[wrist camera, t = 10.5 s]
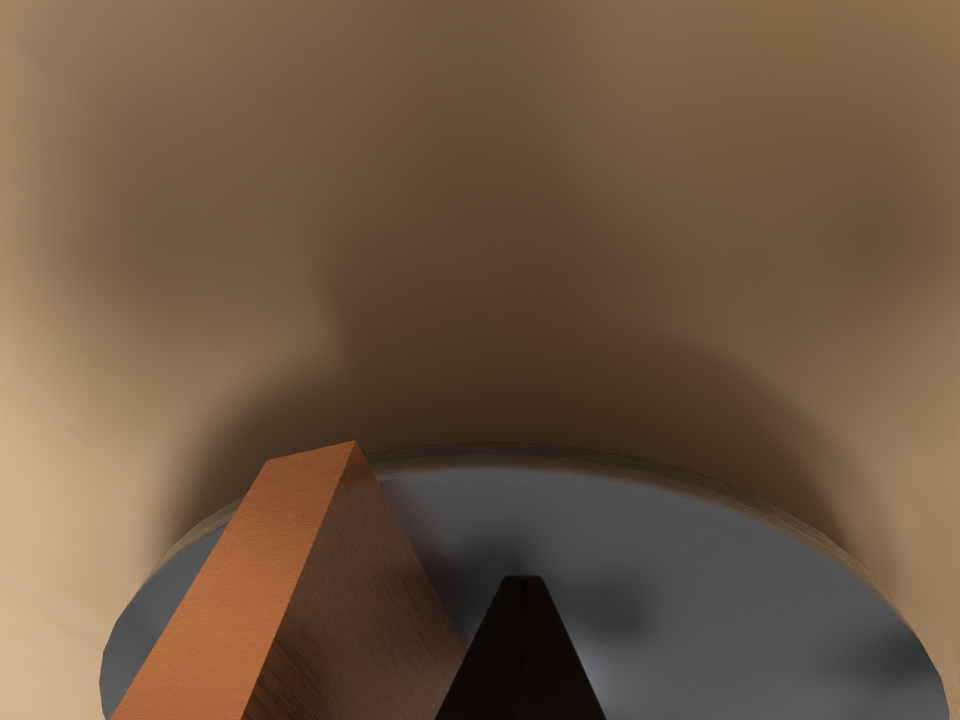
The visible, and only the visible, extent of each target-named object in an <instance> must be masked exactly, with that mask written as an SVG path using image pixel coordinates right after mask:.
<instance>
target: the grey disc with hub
mask: <svg viewBox="0 0 960 720" xmlns="http://www.w3.org/2000/svg"><path fill="white" fill-rule="evenodd" d="M507 574H522V575H539V576H541V577H542V578H543V579H544V581H545V583H546V585H547V588H548V590H549V592H550V594H551V597H552V599H553V601H554V603H555V605H556V608H557V610H558V612H559V614H560V616H561V619H562V621H563V623H564V625H565V628H566V630H567V632H568V634H569V636H570V639H571V641H572V643H573V645H574V648H575V650H576V652H577V654H578V656H579V659H580V661H581V663H582V665H583V668H584V670H585V672H586V674H587V676H588V679H589V681H590V683H591V685H592V687H593V690H594V692H595V694H596V696H597V699H598V701H599V703H600V705H601V707H602V710H603V712H604V714H605V716H606V719H607V720H949V708H948V704H947V700H946V696H945V693H944V689H943V685H942V681H941V677H940V675H939V674H938V672H937V670H936V668H935V667H934V665H933V663H932V661H931V659H930V658H929V656H928V654H927V652H926V651H925V649H924V647H923V645H922V643H921V642H920V640H919V639H918V637H917V636H916V634H915V633H914V631H913V630H912V628H911V627H910V626H909V624H908V623H907V621H906V620H905V618H904V617H903V615H902V614H901V612H900V611H899V609H898V608H897V606H896V605H895V603H894V602H893V600H892V599H891V598H890V596H889V595H888V594H887V593H886V591H885V590H884V589H883V588H882V587H881V586H880V585H879V584H878V582H877V581H876V580H875V579H874V578H873V577H872V576H871V575H870V574H869V572H868V571H867V570H866V569H865V568H864V567H863V566H862V565H861V563H860V562H859V561H857V560H856V559H855V558H854V557H852V556H851V555H850V554H849V553H847V552H846V551H845V550H843V549H842V548H841V547H840V546H838V545H837V544H836V543H834V542H833V541H832V540H831V539H829V538H828V537H827V536H826V535H824V534H823V533H822V532H820V531H819V530H818V529H816V528H814V527H813V526H811V525H809V524H807V523H806V522H804V521H802V520H800V519H798V518H797V517H795V516H793V515H791V514H790V513H788V512H786V511H784V510H782V509H781V508H779V507H777V506H775V505H774V504H772V503H770V502H768V501H766V500H764V499H762V498H759V497H757V496H754V495H752V494H749V493H747V492H744V491H742V490H739V489H737V488H734V487H732V486H729V485H727V484H724V483H722V482H719V481H717V480H714V479H712V478H709V477H707V476H704V475H700V474H697V473H693V472H689V471H685V470H682V469H678V468H674V467H671V466H667V465H663V464H660V463H656V462H652V461H648V460H645V459H641V458H637V457H631V456H625V455H618V454H612V453H606V452H599V451H593V450H587V449H580V448H574V447H568V446H553V445H534V444H515V443H495V442H487V443H468V444H449V445H430V446H417V447H411V448H404V449H398V450H392V451H386V452H380V453H374V454H367V455H363V453H362V451H361V449H360V447H359V445H358V444H357V442H356V440H353V441H349V442H345V443H340V444H336V445H331V446H327V447H323V448H318V449H314V450H310V451H305V452H301V453H296V454H292V455H288V456H283V457H279V458H275V459H270V460H267V461H266V463H265V464H264V466H263V468H262V469H261V471H260V473H259V474H258V476H257V478H256V479H255V481H254V483H253V484H252V486H251V488H250V489H249V491H248V492H247V494H245V495H243V496H240V497H239V498H237V499H236V500H234V501H232V502H231V503H229V504H228V505H226V506H224V507H223V508H221V509H220V510H218V511H216V512H215V513H213V514H211V515H210V516H208V517H207V518H205V519H203V520H202V521H200V522H199V523H198V524H196V525H195V526H194V527H193V528H192V529H191V530H190V531H189V532H188V533H186V534H185V535H184V536H183V537H182V538H181V539H180V540H179V541H177V542H176V543H175V544H174V545H173V546H172V547H171V548H170V549H169V550H167V551H166V553H165V554H164V556H163V557H162V558H161V560H160V561H159V562H158V564H157V565H156V566H155V568H154V569H153V570H152V572H151V573H150V574H149V576H148V577H147V578H146V580H145V581H144V582H143V584H142V585H141V587H140V588H139V590H138V591H137V593H136V594H135V595H134V597H133V598H132V600H131V601H130V603H129V604H128V605H127V607H126V608H125V610H124V611H123V613H122V614H121V615H120V617H119V618H118V620H117V621H116V623H115V626H114V628H113V630H112V633H111V635H110V638H109V640H108V642H107V645H106V647H105V649H104V652H103V658H102V666H101V673H100V680H99V684H100V693H101V701H102V709H103V713H104V716H105V719H106V720H434V719H435V717H436V715H437V713H438V711H439V709H440V707H441V705H442V703H443V700H444V698H445V696H446V694H447V692H448V690H449V688H450V686H451V684H452V682H453V680H454V678H455V676H456V674H457V672H458V669H459V667H460V665H461V663H462V661H463V659H464V657H465V655H466V653H467V651H468V649H469V647H470V645H471V643H472V641H473V638H474V636H475V634H476V632H477V630H478V628H479V626H480V624H481V622H482V620H483V618H484V616H485V614H486V612H487V610H488V607H489V605H490V603H491V601H492V599H493V597H494V595H495V593H496V591H497V589H498V587H499V585H500V583H501V581H502V579H503V577H504V576H505V575H507Z"/></svg>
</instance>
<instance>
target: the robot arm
mask: <svg viewBox="0 0 960 720" xmlns="http://www.w3.org/2000/svg"><path fill="white" fill-rule="evenodd" d="M434 720H607V719H606V716H605V714H604V712H603V710H602V707H601V705H600V703H599V701H598V699H597V696H596V694H595V692H594V690H593V687H592V685H591V683H590V681H589V679H588V676H587V674H586V672H585V670H584V668H583V665H582V663H581V661H580V659H579V656H578V654H577V652H576V650H575V648H574V645H573V643H572V641H571V639H570V636H569V634H568V632H567V630H566V628H565V625H564V623H563V621H562V619H561V616H560V614H559V612H558V610H557V608H556V605H555V603H554V601H553V599H552V597H551V594H550V592H549V590H548V588H547V585H546V583H545V581H544V579H543V578H542V577H541V576H539V575H522V574H507V575H505V576H504V577H503V579H502V581H501V583H500V585H499V587H498V589H497V591H496V593H495V595H494V597H493V599H492V601H491V603H490V605H489V607H488V610H487V612H486V614H485V616H484V618H483V620H482V622H481V624H480V626H479V628H478V630H477V632H476V634H475V636H474V638H473V641H472V643H471V645H470V647H469V649H468V651H467V653H466V655H465V657H464V659H463V661H462V663H461V665H460V667H459V669H458V672H457V674H456V676H455V678H454V680H453V682H452V684H451V686H450V688H449V690H448V692H447V694H446V696H445V698H444V700H443V703H442V705H441V707H440V709H439V711H438V713H437V715H436V717H435V719H434Z"/></svg>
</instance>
